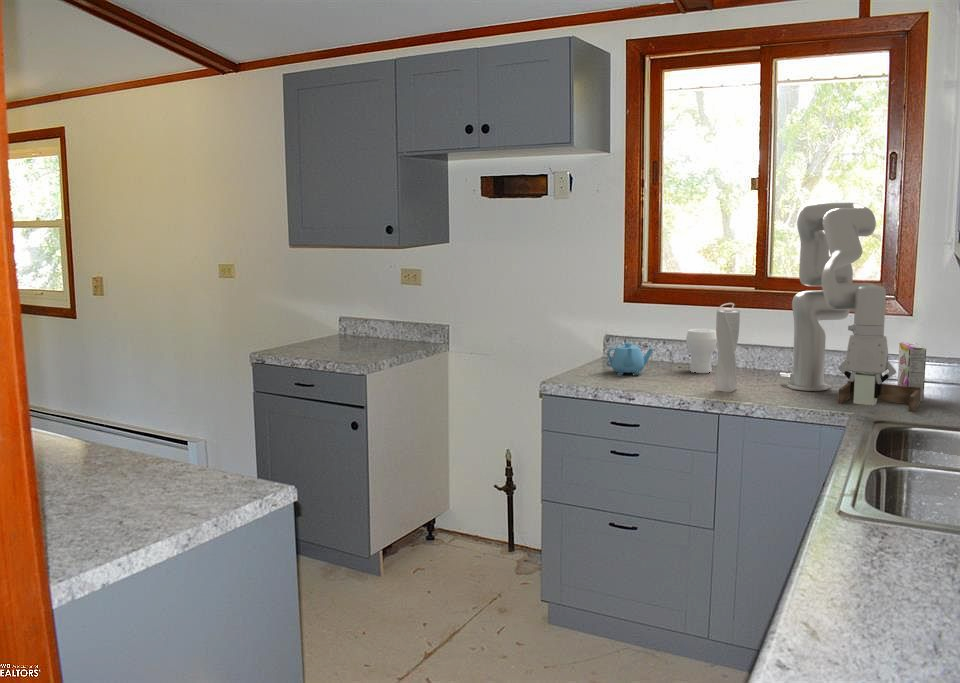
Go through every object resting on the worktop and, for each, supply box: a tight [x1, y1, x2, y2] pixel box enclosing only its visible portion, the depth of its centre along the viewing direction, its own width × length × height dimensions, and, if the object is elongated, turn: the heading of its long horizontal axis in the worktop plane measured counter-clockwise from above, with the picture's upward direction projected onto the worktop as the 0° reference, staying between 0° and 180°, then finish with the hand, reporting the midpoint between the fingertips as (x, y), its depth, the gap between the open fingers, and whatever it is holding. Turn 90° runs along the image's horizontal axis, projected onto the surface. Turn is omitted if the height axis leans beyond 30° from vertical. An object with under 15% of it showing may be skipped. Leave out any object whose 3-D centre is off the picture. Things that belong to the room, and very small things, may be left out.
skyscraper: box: [714, 302, 741, 393], centre depth 272 cm, size 8×8×28 cm
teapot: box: [606, 341, 654, 376], centre depth 304 cm, size 15×14×11 cm
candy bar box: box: [897, 341, 927, 403], centre depth 257 cm, size 11×5×16 cm, turn 168°
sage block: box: [853, 372, 878, 406], centre depth 233 cm, size 5×5×8 cm
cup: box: [685, 328, 717, 374], centre depth 305 cm, size 11×11×15 cm
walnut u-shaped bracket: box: [837, 380, 921, 413], centre depth 250 cm, size 20×12×5 cm, turn 54°
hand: (865, 395), depth 233 cm, fingers closed on sage block, 5 cm apart
